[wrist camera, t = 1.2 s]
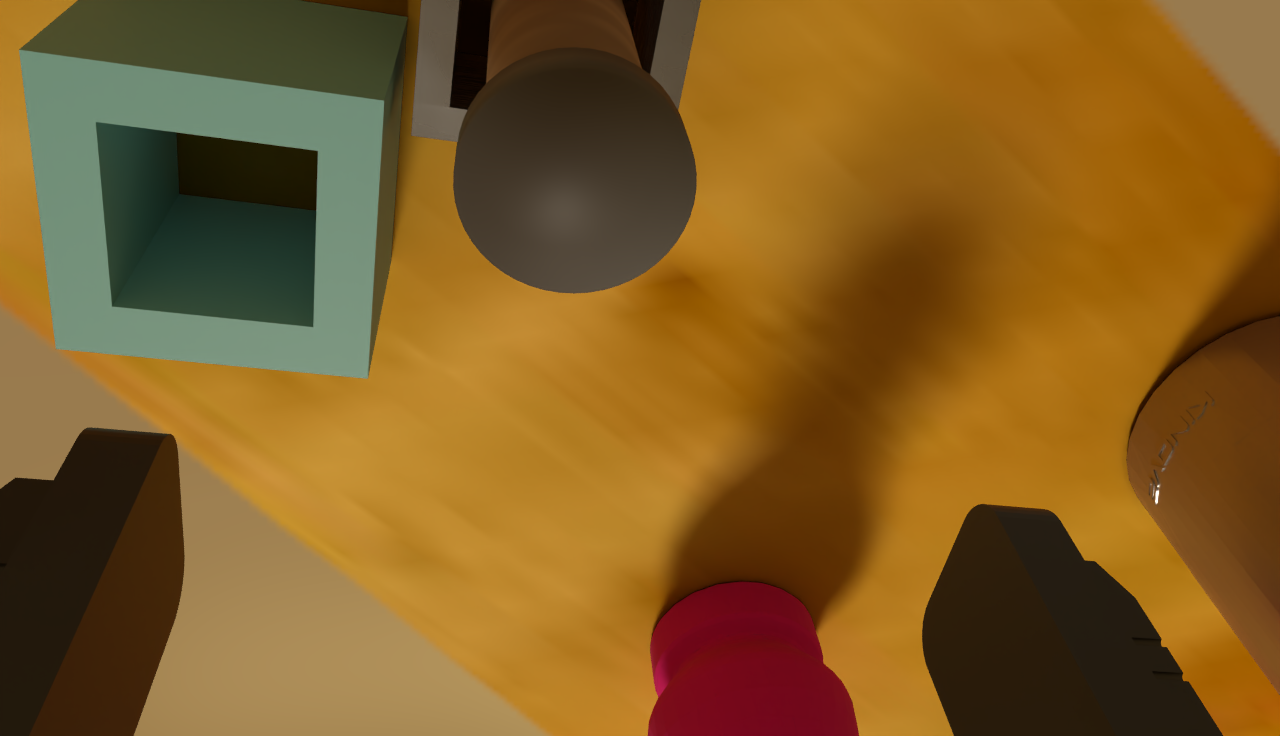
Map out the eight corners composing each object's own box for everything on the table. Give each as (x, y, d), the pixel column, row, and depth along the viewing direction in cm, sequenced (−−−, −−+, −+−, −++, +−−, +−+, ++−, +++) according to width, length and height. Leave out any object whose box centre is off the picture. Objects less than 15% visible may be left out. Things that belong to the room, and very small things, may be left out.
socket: (407, 17, 28) (384, 100, 23) (391, 260, 31) (368, 378, 26) (112, -29, 26) (19, 50, 21) (131, 231, 30) (56, 348, 25)
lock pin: (641, -88, 27) (720, 88, 17) (615, 64, 29) (670, 305, 19) (485, -115, 26) (466, 50, 16) (470, 42, 28) (443, 279, 18)
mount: (694, -128, 26) (720, -94, 23) (648, 109, 30) (665, 169, 26) (442, -175, 25) (432, -145, 22) (423, 77, 29) (411, 135, 25)
